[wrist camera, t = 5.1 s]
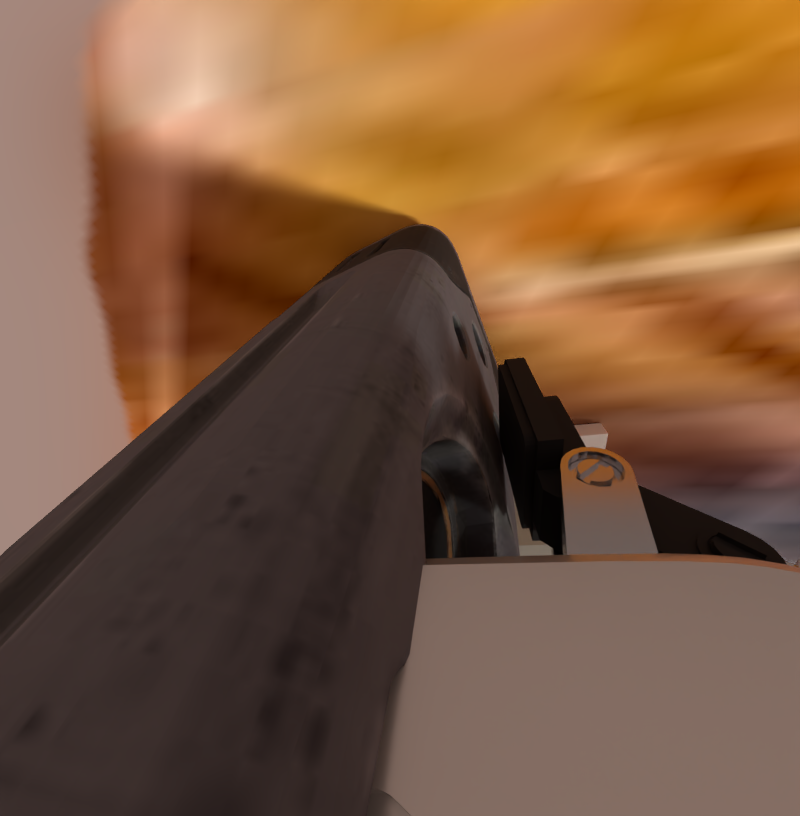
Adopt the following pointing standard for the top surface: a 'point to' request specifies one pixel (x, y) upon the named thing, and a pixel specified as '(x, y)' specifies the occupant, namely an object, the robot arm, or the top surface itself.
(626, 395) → the top surface
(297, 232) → the top surface
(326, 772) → the electronic device
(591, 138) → the top surface
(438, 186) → the top surface
